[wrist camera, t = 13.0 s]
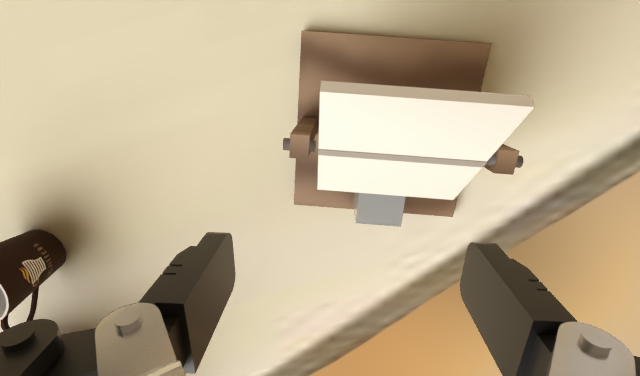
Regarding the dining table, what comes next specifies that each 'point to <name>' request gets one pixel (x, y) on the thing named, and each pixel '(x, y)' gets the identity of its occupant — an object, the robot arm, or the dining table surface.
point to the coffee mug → (26, 269)
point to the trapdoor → (410, 137)
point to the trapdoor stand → (381, 69)
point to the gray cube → (378, 209)
